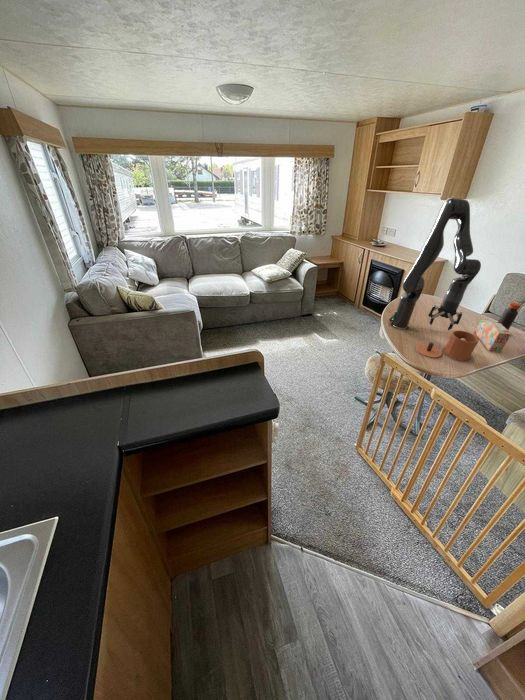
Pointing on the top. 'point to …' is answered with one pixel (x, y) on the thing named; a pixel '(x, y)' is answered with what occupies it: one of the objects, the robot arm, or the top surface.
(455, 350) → the pot
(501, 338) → the colourful patterned box
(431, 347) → the lid
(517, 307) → the bottle
